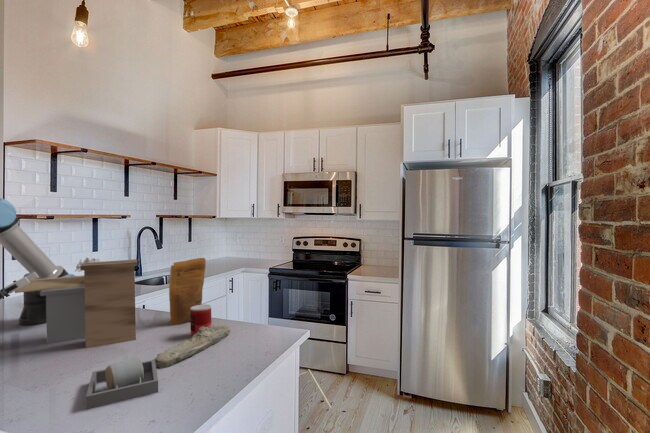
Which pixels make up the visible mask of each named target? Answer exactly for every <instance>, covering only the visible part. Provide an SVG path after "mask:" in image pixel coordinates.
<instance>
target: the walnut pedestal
mask: <svg viewBox="0 0 650 433" xmlns="http://www.w3.org/2000/svg"><path fill="white" fill-rule="evenodd" d="M135 267H138V259H136V258H135V259H134V258H133V259H124V260H123V259H122V260H120V259H119V260H107V261H106V260H105V261H99V262H90V263H84V264H82V265H81V266H80V268H79V269H81V270H82V271H83V270H84V271H83V275H84V283H85V334H86V338H85V348H86V349H89V348H94V347H99V346H101V347H102V346H105V345H111V344H118V343H124V342H130V341H135V340H137V335H136V334H137V331H136V329H137V327H136V325H137V324H136V321H137V320H136V285H135V284H136V279H135V278H136V275H135V269H136V268H135Z"/></svg>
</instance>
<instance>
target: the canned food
mask: <svg viewBox="0 0 650 433" xmlns="http://www.w3.org/2000/svg"><path fill="white" fill-rule="evenodd" d="M189 324H190V335H191V337H192V336H193V335H194V334H196V333H197V332H198V329H199V328H200V327H202V326H204V327H208V326H212V305H211V304H202V305H196V306H193V307H191V308H190V322H189Z"/></svg>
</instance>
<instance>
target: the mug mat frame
mask: <svg viewBox="0 0 650 433" xmlns="http://www.w3.org/2000/svg"><path fill="white" fill-rule="evenodd" d="M141 362H142V365H143V370H144V374H145V373H149V372H150V373H151V377H152V380H148V381H143V383H138V384H134V385H129V386H125V387H120V388H116V389H111V390H108V389H107V390H103V391H99V392H96V387H97V384H98V383H102V382H106V378H105V370H106V368H105V369H99V370H95V371H92V373H91V377H90V380H89V384H88V387H87V390H86V395H85V409H86V410H88V409H92V408H96V407H100V406H104V405H108V404H113V403H117V402H120V401H121V402H122V401H126V400H129V399H133V398H138V397H143V396H147V395H151V394H155V393H158V392H159V378H158V372H157V367H156V363H155V360H154V359H150V360H145V361H141Z"/></svg>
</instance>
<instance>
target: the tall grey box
mask: <svg viewBox="0 0 650 433" xmlns="http://www.w3.org/2000/svg"><path fill="white" fill-rule="evenodd" d="M45 295H46V320H47V323H46V344H47V345H48V344H54V343H60V342H61V343H62V342H66V341H67V342H68V341H72V340H74V341H75V340H79V339H86V334H85V286H83V287H72V288H62V289H51V290H42V291H41V292H40V296H45Z"/></svg>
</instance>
